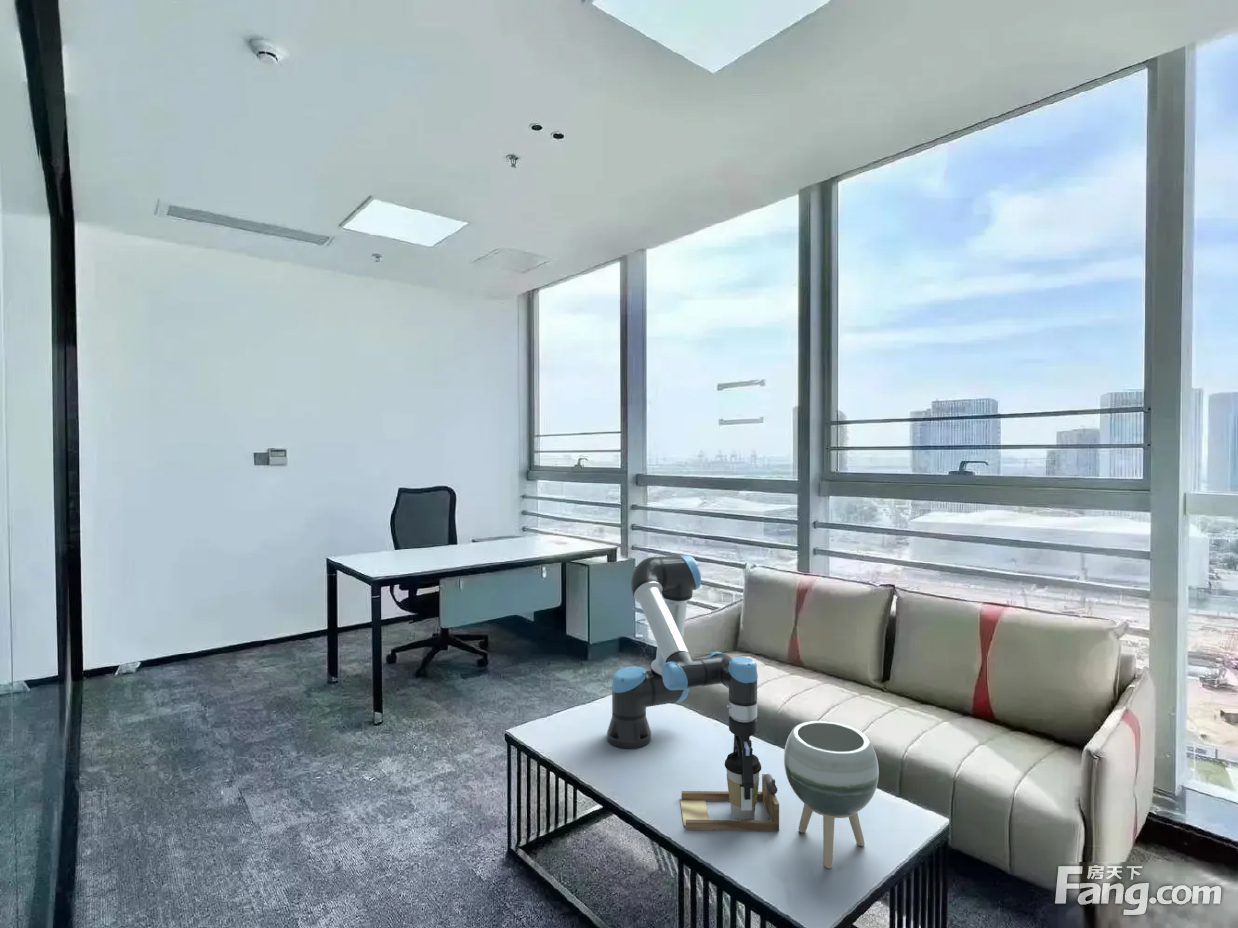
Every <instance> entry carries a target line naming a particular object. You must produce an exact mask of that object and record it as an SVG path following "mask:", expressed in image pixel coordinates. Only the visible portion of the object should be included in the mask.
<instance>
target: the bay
mask: <svg viewBox="0 0 1238 928" xmlns="http://www.w3.org/2000/svg"><path fill="white" fill-rule="evenodd" d="M776 793H778V788H777V785H776V779H775V778H773V776H772V774H769V773H766V774H765V773H762V774H761V791H758V794H757V802H763V805H764V807H765V810H766V812H767V815H768V818H769V820H761V819H760V820H759V819H751V820H739V819H734V820H733V819H710V816H709V811H708V807H707V803H706V801H707V802H709V801H712V802H713V801H714V802H715V801H717V802H718V801H721V802H722V801H723V802H725V801H726V802H730V800H729V792H728V790H726V791H723V790H722V791H720V790H718V791H717V790H715V791H714V790H713V791H712V790H709V791H708V790H682V791H681V799H680V800H679V802H680V809H681V817H682V824H683V827H684V828H685V829H686V830H685V831H745V832H746V831H748V832H749V831H754V832H755V831H756V832H757V831H758V832H769V831H770V832H779V831H780V803H779V800H778V799H777V796H776Z"/></svg>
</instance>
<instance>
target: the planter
mask: <svg viewBox="0 0 1238 928" xmlns="http://www.w3.org/2000/svg"><path fill="white" fill-rule="evenodd" d="M783 752H784V753H783V765H784V766H783V767H784V771H785V775H786V779H787V780H788V783H789V786H790V787H791V789H792V791H793V792H794V794H795V795H796V797H798V799H799V800H800V801H801V802H802V803H803V808H802V812H801V817H800V819H799V826H798V832H800V833H801V834H803V833H806V832H807V829H808V826H809V824H810V820H811V818H812V815H813V813H816V814H818V815H821V816H822V826H823V827H822V830H823V833H822V834H823V837H822V838H823V839H822V841H823V842H822V846H823V847H822V849H823V850H822V851H823V852H822V853H823V857H822V858H823V859H822V860H823V862H822V864H823V867H824V868H826V869H831V868H832V867H833V858H834V857H833V856H834V838H835V836H834V835H835V819H846V818H848V820H849V823H850V826H851V829H852V832H853V835H854V839H855V842H856V844H857V845H858V846H859V847H864V846H865V845H866V844H865V837H864V833H863V831H862V826H861V822H860V818H859V814H858V813H859V812H860V811H861V810H863V809H864V808H865V807H866V806H868V804H869V803H870V801H871V800H872V799H873V798H874V795H875V793H876V791H877V786H878V783H879V776H880V775H879V774H880V771H879V763H878V762H879V761H878V756H877V754H876V751H875V748H874V746H873V744H872V743H871V741H870V739H869V737H868V736H867V735H866V734H865V733H864V732H862V731H860V730H858V729H857V728H855V727H853V726H851V725H847V724H844V723H840V722H835V721H828V720H810V721H804V722H802V723H798V724H797V725H795V726H794V727H793V728H792V730H791V731H790V733H789V734H788V737H787V740H786V742H785V746H784V751H783Z"/></svg>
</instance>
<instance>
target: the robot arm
mask: <svg viewBox="0 0 1238 928" xmlns="http://www.w3.org/2000/svg"><path fill="white" fill-rule="evenodd" d="M698 564H699V563H698V562H697V561H696V560H695V558H694V557H693V556H691V555H681V554H678V555H670V556H669V555H668V556H667V555H666V556H665V555H664V556H651V557H647V558H645V559H643V560H642V561H640V562H639V563H638V564H637V565H636V567H635V568H634V569H633V572H632V575H631V579H630V580H631V581H630V589H631V590H630V591H631V593H632V596H633V598H634V600H635V602H636V603H638V604H640V607H641V609H642V612H643V615H644V616H645V618H646V621H647V623H648V625H649V628H650V630H651V633H652V635H653V637H654V640H655V642H656V644H657V647H656V657H655V659H654V660H652V661H651V664H650V665H651V666H650V670H646V669H645V668H643V667H642V666H634V665H633V666H627V667H623V668H621V669H619V670H616V672H615V673H614V674H613V676H612V680H611V681H612V683H611V700H612V701H611V702H612V703H611V704H612V705H611V708H612V709H611V713H612V714H611V719H610V720H609V721H610V723H609V725H608V728H607V732H606V740H607V742H608V743H609V744H610V745H612V746H613V747H616V748H621V749H626V750H628V749H629V750H630V749H639V748H643V747H645V746H647V745H649V743H650V742H651V741H652V731H651V727H650V725H649V721H648V718H647V708H648V707H657V706H661V705H662V706H663V705H668V704H671V705H672V704H673V705H674V704H676V703H680V702H682V701H684V700H685V699H686V698H687V697H688V694H689V691H690V689H694V688H699V687H708V686H715V685H716V686H717V685H723V686H725V688H727V689H728V704H726V708H727V709H728V715H729V716H728V729H729V730H728V731H730V733H731V734H733V748H732V753H733V752H736V753H738V757H739V758H740V762H741V772H742V784H739V786H740V787H741V810H752V788H754V782H753V761H752V754H753V751H754V750H753V747H752V740H751V739H750V737H752V736H755V735H756V734H757V732H758V719H757V717H758V677H759V676H758V675H759V674H758V667H757V662H756V661H755V660H754V659H753V658H750V657H746V656H734V657H731V656H730V655H728V654H726V653H723V652H720V651H713V652H711V653H710V654H708V655H707V656H706V657H701V658H692V656H691V653H690V652H689V649H688V647H687V645H686V643H685V641H684V635H685V634H684V633H685V625H686V615H687V606H688V605H687V604H688V601H690V600H692V598H693V595H694V593H693V591H697V590H698V589H699V588H700V587H701V583H702V575H701V570H700V567H699V565H698ZM741 754H742V755H741Z"/></svg>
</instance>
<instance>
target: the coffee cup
mask: <svg viewBox="0 0 1238 928" xmlns="http://www.w3.org/2000/svg"><path fill="white" fill-rule="evenodd" d="M741 755H742V754H741ZM752 761H753V782H754V788H752V810H741V787H740V786H739V784H742V772H741V762H740V758H739V757H738V753H736V752H733V751H732V752H731V753H729V754H728V755H727V757H726V759H725V760H724V767H725V769H726V781H727V791H728V792H729V800H730V801H729V803H730V812H731V816H732V817H733V818H734V819H735V820H754V818H755V813H756V805H757V802H758V801H757V794H758V792H759V783H760V772H761V771H762V764H761V762H760V759H759V758H758V756H757V755H755V754H753V753H752Z"/></svg>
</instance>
